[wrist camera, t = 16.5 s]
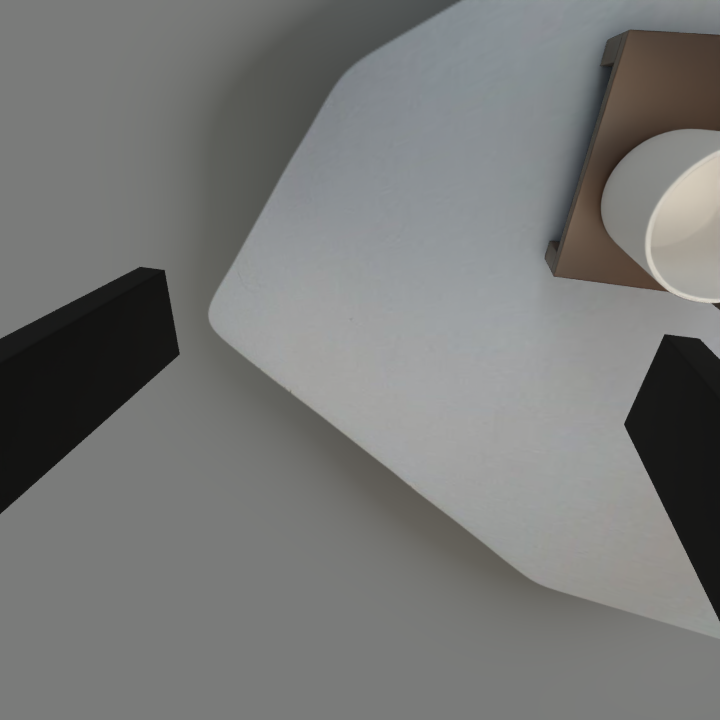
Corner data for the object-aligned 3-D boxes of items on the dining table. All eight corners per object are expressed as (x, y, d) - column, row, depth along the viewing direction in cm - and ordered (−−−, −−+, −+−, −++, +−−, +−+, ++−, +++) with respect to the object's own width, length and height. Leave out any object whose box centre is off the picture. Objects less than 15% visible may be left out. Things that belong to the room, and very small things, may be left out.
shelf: (607, 39, 32) (645, 21, 25) (794, 51, 30) (890, 35, 23) (544, 258, 40) (560, 289, 33) (689, 277, 38) (737, 314, 31)
